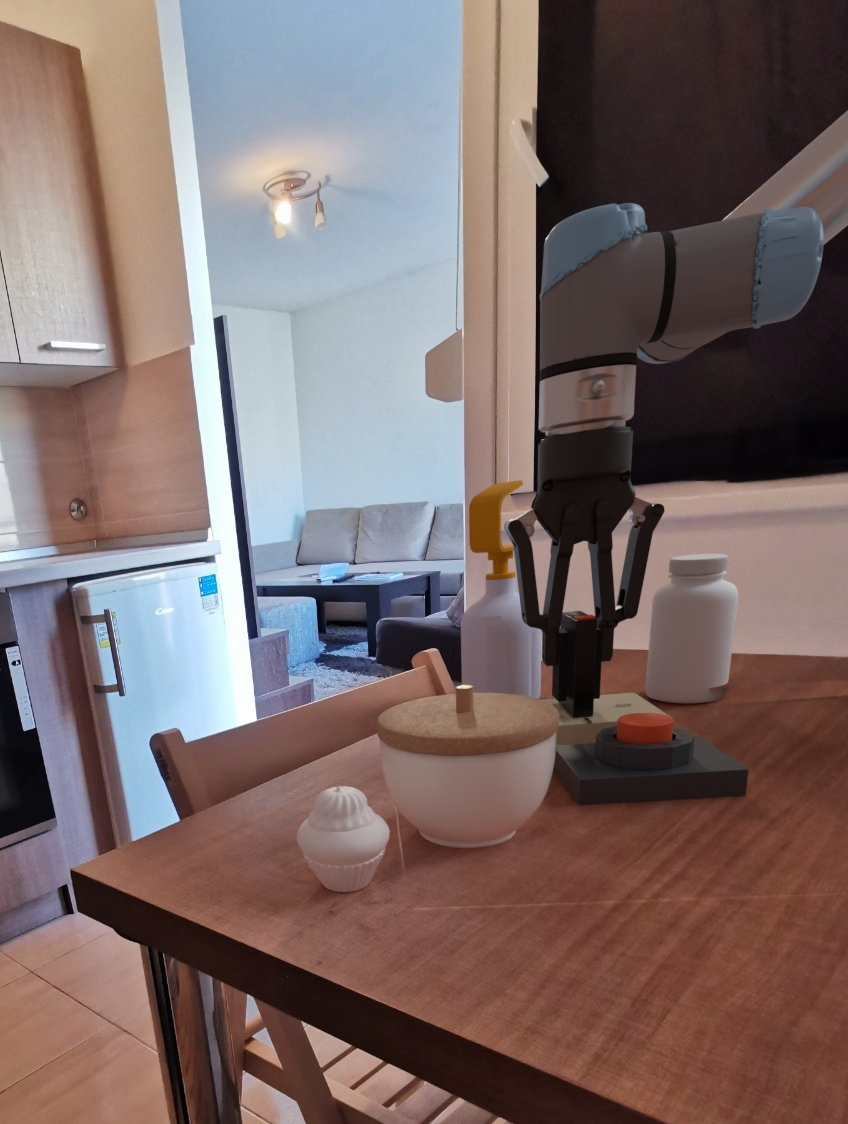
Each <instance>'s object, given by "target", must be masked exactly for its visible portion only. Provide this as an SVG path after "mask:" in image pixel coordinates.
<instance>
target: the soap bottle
mask: <svg viewBox="0 0 848 1124" xmlns="http://www.w3.org/2000/svg"><path fill="white" fill-rule="evenodd" d="M523 485H524V482H523V480H522V479H521V480H520V479H519V480H512V481H505V482H498V483H494V484H492V485H490V486H489V487H486V488H485V489H484V490H482V491H481V492H479V493H477V494H476V495H474V496H473V498H472V499H471V500H470V503H469V507H468V529H469V534H468V535H469V536H468V537H469V540H468V541H469V547H470V551H471V552H472V553H474V554H482V553H483V554H485V553H487V561H492V572H490V573H486V574H485V593H484V595H483V596H482V597H480V599H478V600H476V601H475V602H474V603H472V604H471V605H470V606H468V608H467V609H466V610H465V611H464V612H463V614H462V617H461V621H460V652H461V653H460V656H461V658H460V660H461V685H472V686H473V693H504V694H515V695H523V696H528V697H532V698H537V699H540V697H541V690H542V689H541V687H542V686H541V684H542V631H541V629H538V628H534V627H529V626H528V625H527V624H525V623H524V622H523V620H522V614H521V605H520V597H519V592H517V587H516V585H517V584H516V580H517V576H516V571H509V560H511V559H513V558H514V546H513V544H503V542H502V504H503V502H504V499H505V498H506V497H507V496H508V495H510V494H511V493H513V492H514V491H516V490H517V489H519V488H520V487H522V486H523ZM539 612H540V613H541V610H539Z"/></svg>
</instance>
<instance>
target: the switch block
mask: <svg viewBox="0 0 848 1124" xmlns="http://www.w3.org/2000/svg"><path fill="white" fill-rule="evenodd" d="M616 738H617V726H613V727H609V728H605V729H602V730H601V731H600V732H599V733H598V734H597V735H596V743H589V744H574V745H559V746H556V753H555V762H554V768H553V773H555V775H556V777H558V779H559V780H560V781H561V783H562V784H563V786H564V787H565V788H566V790H567V791H568V792H569V794H570V795H571V797H573V799H574V800H575V802H576V803H577V805H579V806H585V805H587V806H588V805H603V804H604V805H606V804H623V803H640V802H641V803H642V802H657V801H677V800H696V799H713V798H730V797H732V798H733V797H746V795H747V787H748V778H749V771H750V770H749V768H748V767H746V766H745V765H744V764H742V763H740V762H739V761H737V760H736V759H734V758H733V757H731V756H730V755H728V754H727V753H725V752H724V751H722V750H720V749H719V748H717V747H716V746H715V745H713V744H712V743H710V742H709V741H707V740H706V739H704V738H703V737H701V736H700V735H695V734H693V733H692V732H691V731H689V730H687V729H685V728H682V727H677V726H673V734H672V741H668V742H664V743H653V744H638V743H627V742H623V741H620V740H617V739H616Z"/></svg>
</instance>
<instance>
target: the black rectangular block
mask: <svg viewBox="0 0 848 1124" xmlns="http://www.w3.org/2000/svg"><path fill="white" fill-rule="evenodd" d="M560 628H562V629H564V630H566V631H567V632H569V639H568V670H567V701H559V703H560V704H561V705H562V706H563V707H564V708H565V710H566V711H567V712H568V713H569V714H570V715H571V716H572V717H588V716H593V707H594V684H595V661H596V638H597V619H596V618H595V614H588V613H585V612H584V611H582V610H573V611H563V613H562V619H561V626H560Z"/></svg>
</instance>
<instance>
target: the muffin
mask: <svg viewBox="0 0 848 1124" xmlns="http://www.w3.org/2000/svg"><path fill="white" fill-rule="evenodd" d="M312 803H313V809H312V810H311V811H310V812H309V814H308V817H307V818H306V819H305V820H304V821H303V822H302V823H301V825H300V826H299V828H298V830H297V833H296V843H297V845H298V847H299V849H300V850H301V852H302V854H303V855H302V857H303V858H304V861H306V863H307V864H308V866H309V867H310V869H311V870H312V871H313V873H314V875H315V876H316V877H317V879H318V880H319V882H320V883H321V884H322V886H323V887H324V888H326V890H329V891H333V892H337V893H352V892H356V891H360V890H361V889H362V890H363V889H364V888H366V887H367V886H368V885H369V884H370V882H371V881H372V879H373V877H374V875H375V873H376V871H377V869H378V867H379V865H380V863H381V861H382V859H383V857H384V855H385V853H386V847H387V844H388V842H389V839H390V834H391V831H390V827H389V825H388V823H387V822H386V820H385V819H384V818H383V817H382V816H381V815H379V814H378V813H376V812H375V811H374V809H372V807H370V805H369V804H368V799H367V796H366V795H365V794H364V792H363V791H361V790H359V789H358V788H355V787H353V786H347V785H344V786H343V785H341V786H340V785H338V786H332V787H329V788H325V789H324V790H322V791H320V792H319V793H318V794H317V796H315V798H314V800H313V802H312Z"/></svg>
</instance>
